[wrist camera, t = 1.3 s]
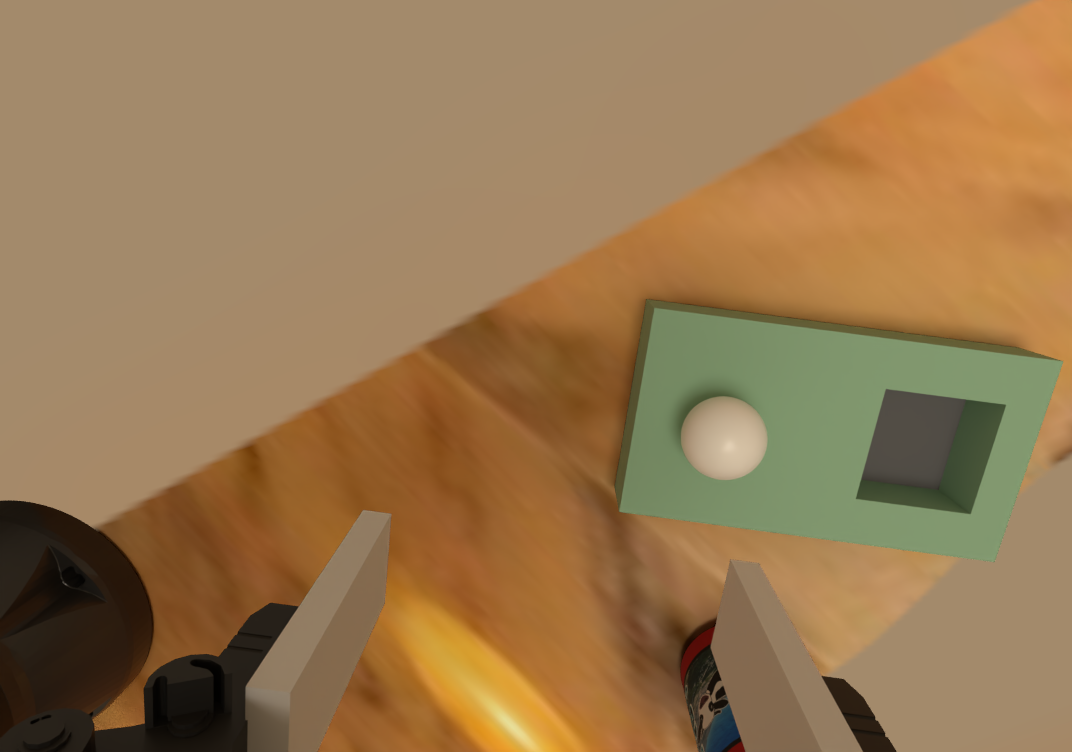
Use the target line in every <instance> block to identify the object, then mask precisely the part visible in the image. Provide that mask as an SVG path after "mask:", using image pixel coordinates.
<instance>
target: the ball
mask: <svg viewBox="0 0 1072 752" xmlns="http://www.w3.org/2000/svg"><path fill="white" fill-rule="evenodd" d="M767 442H768V436H767V430H766V427H765V424H764V421H763V420H762V418H761V416H760V415H759V413H758V412H757V411H756V410H755V409H754V408H753V407H752V406H750V405H749V404H747V403H746V402H744V401H742V400H740V399H737V398H733V397H727V396H719V397H713V398H709V399H707V400H704V401H702V402H701V403H699V404H697V405H696V406H695V407H694V408H693V409H692V410H691V411H690V412H689V414H688V415H687V417H686V418H685V420H684V423H683V425H682V429H681V445H682V449H683V452H684V454H685V456H686V458H687V460H688V461H689V463H690V464H691V465H692V466H693V467H694V468H695V469H696V470H697V471H699V472H700V473H702V474H703V475H705V476H707V477H710V478H713V479H718V480H732V479H737V478H740V477H743V476H745V475H747V474H749V473H750V472H751V471H753V470H754V469H755V468H756V467H757V466H758V465H759V463H760V462H761V460H762V459H763V457H764V455H765V452H766V449H767Z"/></svg>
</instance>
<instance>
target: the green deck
mask: <svg viewBox="0 0 1072 752" xmlns="http://www.w3.org/2000/svg"><path fill="white" fill-rule="evenodd" d="M1062 364H1063V361H1060V360H1057V359H1054V358H1051V357H1047V356H1044V355H1041V354H1037V353H1034V352H1031V351H1028V350H1024V349H1021V348H1017V347H1009V346H1002V345H994V344H986V343H979V342H971V341H963V340H956V339H948V338H940V337H933V336H925V335H917V334H910V333H902V332H894V331H887V330H879V329H871V328H864V327H856V326H848V325H841V324H833V323H825V322H818V321H810V320H802V319H795V318H787V317H779V316H772V315H764V314H756V313H749V312H741V311H734V310H726V309H718V308H711V307H703V306H695V305H688V304H680V303H672V302H665V301H657V300H649V299H646V305H645V311H644V316H643V322H642V328H641V334H640V340H639V346H638V352H637V358H636V364H635V370H634V376H633V381H632V387H631V393H630V399H629V405H628V411H627V417H626V423H625V429H624V435H623V441H622V446H621V452H620V458H619V464H618V470H617V476H616V482H615V491H616V497H617V502H618V508H619V512H624V513H631V514H639V515H646V516H654V517H661V518H669V519H676V520H684V521H691V522H699V523H706V524H713V525H721V526H728V527H736V528H743V529H751V530H758V531H766V532H773V533H781V534H788V535H796V536H803V537H811V538H818V539H826V540H833V541H841V542H848V543H856V544H863V545H870V546H878V547H885V548H893V549H900V550H908V551H915V552H923V553H930V554H938V555H945V556H953V557H960V558H968V559H976V560H983V561H990V562H995V559H996V556H997V553H998V551H999V548H1000V545H1001V542H1002V539H1003V536H1004V533H1005V530H1006V527H1007V524H1008V521H1009V518H1010V516H1011V513H1012V509H1013V507H1014V504H1015V501H1016V498H1017V495H1018V492H1019V489H1020V486H1021V483H1022V481H1023V478H1024V475H1025V472H1026V469H1027V466H1028V463H1029V460H1030V457H1031V454H1032V451H1033V448H1034V445H1035V443H1036V440H1037V437H1038V434H1039V431H1040V428H1041V425H1042V422H1043V419H1044V416H1045V413H1046V410H1047V408H1048V405H1049V402H1050V399H1051V396H1052V393H1053V390H1054V387H1055V384H1056V381H1057V378H1058V375H1059V373H1060V370H1061V367H1062ZM719 396H727V397H733V398H737V399H740V400H742V401H744V402H746V403H747V404H749V405H750V406H752V407H753V408H754V409H755V410H756V411H757V412H758V413H759V415H760V416H761V418H762V420H763V421H764V424H765V427H766V430H767V436H768V442H767V449H766V452H765V455H764V457H763V459H762V460H761V462H760V463H759V465H758V466H757V467H756V468H755V469H754V470H753V471H751V472H750V473H749V474H747V475H745V476H743V477H740V478H737V479H732V480H718V479H713V478H710V477H707V476H705V475H703V474H702V473H700V472H699V471H697V470H696V469H695V468H694V467H693V466H692V465H691V464H690V463H689V461H688V460H687V458H686V456H685V454H684V452H683V449H682V445H681V429H682V425H683V423H684V420H685V418H686V417H687V415H688V414H689V412H690V411H691V410H692V409H693V408H694V407H695V406H696V405H697V404H699V403H701V402H702V401H704V400H707V399H709V398H713V397H719Z"/></svg>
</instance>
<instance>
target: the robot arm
mask: <svg viewBox="0 0 1072 752" xmlns="http://www.w3.org/2000/svg"><path fill="white" fill-rule="evenodd" d="M390 527H391V514H390V513H382V512H375V511H367V510H363V511H362V513H361V514H360V516H359V517H358V519H357V520H356V522H355V523H354V525H353V526H352V528H351V529H350V531H349V532H348V534H347V535H346V537H345V538H344V540H343V541H342V543H341V544H340V546H339V547H338V549H337V550H336V552H335V553H334V555H333V556H332V558H331V559H330V561H329V562H328V564H327V565H326V567H325V568H324V570H323V571H322V573H321V574H320V576H319V577H318V579H317V580H316V582H315V583H314V585H313V586H312V588H311V589H310V591H309V592H308V594H307V595H306V597H305V598H304V600H303V601H302V603H301V604H300V606H299V607H298V606H290V605H283V604H275V603H269V604H268V605H266V606H265V607H263V608H262V609H260V610H259V611H257V612H255V613H254V614H252V615H251V616H250V617H249V618H248V620H247V621H246V622H245V623H244V625H243V626H242V627H241V629H240V630H239V631H238V634H237V635H235V636H234V638H233V639H232V640H231V642H230V643H229V644H228V647H227V649H224V651H223V652H222V653H221V655H220V656H219V657H217V656H213V655H209V654H200V655H189V656H185V657H182V658H178V659H175V660H173V661H171V662H169V663H167V664H165V665H163V666H161V667H160V668H159V669H157V670H156V671H155V672H154V673H153V674H152V675H151V676H150V677H149V678H148V681H147V683H146V685H145V687H144V710H145V724H141V725H136V726H131V727H123V728H115V729H107V730H98V731H95V730H94V723H93V721H92V719H93V718H95V717H96V716H98V715H99V714H100V713H102V712H103V711H104V710H105V709H106V708H107V707H109V706H110V705H111V704H112V703H113V702H114V701H115V699H116V698H117V697H118V696H119V695H120V694H121V693H122V692H123V691H124V690H125V689H126V687H127V686H128V685H129V684H130V683H131V682H132V681H133V680H134V679H135V677H136V676H137V675H138V673H139V672H140V670H141V669H142V667H143V665H144V663H145V661H146V658H147V656H148V652H149V649H150V644H151V637H152V619H151V612H150V607H149V603H148V600H147V597H146V594H145V591H144V589H143V587H142V585H141V582H140V580H139V579H138V577H137V575H136V573H135V572H134V570H133V569H132V567H131V566H130V564H129V563H128V562H127V560H126V559H125V558H124V556H123V555H122V554H121V553H120V552H119V551H118V550H117V549H116V548H115V547H114V546H113V545H112V544H111V543H110V542H109V541H108V540H107V539H106V538H105V537H104V536H102V535H101V534H100V533H98V532H97V531H96V530H94V529H93V528H92V527H90V526H89V525H87V524H85V523H84V522H82V521H80V520H78V519H77V518H75V517H73V516H71V515H69V514H66V513H64V512H62V511H59V510H57V509H54V508H51V507H47V506H44V505H40V504H36V503H30V502H24V501H0V752H317V751H318V749H319V747H320V744H321V742H322V740H323V738H324V736H325V733H326V731H327V729H328V727H329V725H330V722H331V720H332V718H333V716H334V714H335V711H336V709H337V707H338V705H339V703H340V700H341V698H342V696H343V694H344V692H345V689H346V687H347V685H348V683H349V681H350V678H351V676H352V674H353V672H354V670H355V667H356V665H357V663H358V661H359V659H360V656H361V654H362V652H363V650H364V648H365V645H366V643H367V641H368V639H369V637H370V634H371V632H372V630H373V628H374V626H375V623H376V621H377V619H378V617H379V615H380V612H381V610H382V608H383V606H384V604H385V593H386V580H387V566H388V553H389V540H390ZM711 650H712V653H713V656H714V659H715V662H716V665H717V668H718V671H719V674H720V677H721V680H722V683H723V686H724V689H725V692H726V695H727V698H728V701H729V704H730V707H731V710H732V713H733V716H734V719H735V722H736V725H737V728H738V731H739V734H740V737H741V740H742V743H743V746H744V749H745V752H896V750H895V748H894V747H893V745H892V743H891V742H890V740H889V739H888V738H887V737H885V732H884V731H883V729H882V727H881V726H880V724H879V722H878V721H876V720H875V716H874V714H873V713H872V711H871V709H870V708H869V706H868V705H867V703H866V701H865V699H864V698H863V697H862V696H861V695H860V694H859V693H858V692H857V691H856V690H855V689H854V688H853V687H851V686H850V685H849V684H848V683H847V682H846V681H845V680H844V679H839V678H832V677H825V676H821V675H820V673H819V671H818V669H817V667H816V666H815V664H814V662H813V660H812V658H811V657H810V655H809V653H808V651H807V649H806V648H805V646H804V644H803V642H802V640H801V638H800V637H799V635H798V633H797V631H796V629H795V628H794V626H793V624H792V622H791V620H790V619H789V617H788V615H787V613H786V611H785V609H784V608H783V606H782V604H781V602H780V600H779V599H778V597H777V595H776V593H775V591H774V590H773V588H772V586H771V584H770V582H769V581H768V579H767V577H766V575H765V573H764V571H763V570H762V568H761V566H760V564H759V563H754V562H746V561H739V560H731V559H730V564H729V568H728V572H727V577H726V581H725V586H724V590H723V595H722V599H721V603H720V608H719V612H718V617H717V621H716V625H715V630H714V634H713V639H712V643H711Z"/></svg>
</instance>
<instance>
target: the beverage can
mask: <svg viewBox="0 0 1072 752" xmlns="http://www.w3.org/2000/svg"><path fill="white" fill-rule="evenodd" d="M714 630H715V627H712V628H710V629H708V630H707V631H705V632H703V633H702V634H700V635H699V636H698V637H697V638H696V639H695V640H694V641H693V642H692V643H691V644H690V645H689V647H688V648H687V650H686V652H685V654H684V656H683V659H682V663H681V680H682V685H683V689H684V693H685V698H686V702H687V706H688V711H689V715H690V719H691V723H692V727H693V731H694V735H695V739H696V743H697V747H698V751H699V752H745V749H744V746H743V743H742V740H741V737H740V734H739V731H738V728H737V725H736V722H735V719H734V716H733V713H732V710H731V707H730V704H729V701H728V698H727V695H726V692H725V689H724V686H723V683H722V680H721V677H720V674H719V671H718V668H717V665H716V662H715V659H714V656H713V653H712V650H711V643H712V639H713V634H714Z"/></svg>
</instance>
